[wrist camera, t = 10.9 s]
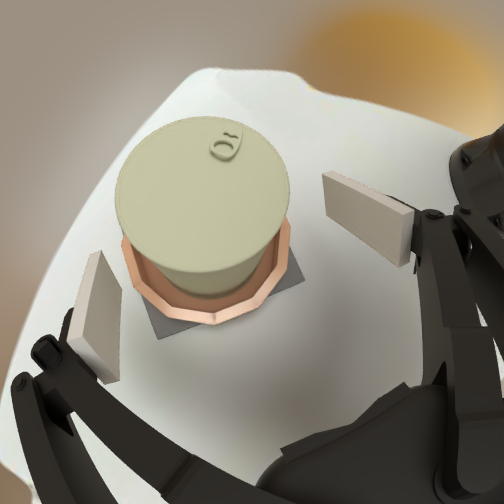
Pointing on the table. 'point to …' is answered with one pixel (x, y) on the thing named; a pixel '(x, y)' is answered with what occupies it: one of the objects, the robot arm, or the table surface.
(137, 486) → the table surface
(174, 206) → the can
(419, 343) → the table surface
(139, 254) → the bowl
